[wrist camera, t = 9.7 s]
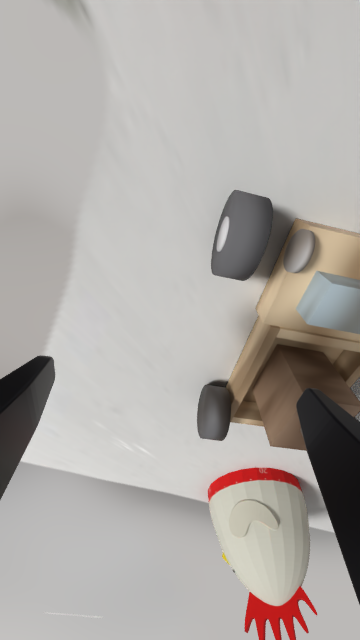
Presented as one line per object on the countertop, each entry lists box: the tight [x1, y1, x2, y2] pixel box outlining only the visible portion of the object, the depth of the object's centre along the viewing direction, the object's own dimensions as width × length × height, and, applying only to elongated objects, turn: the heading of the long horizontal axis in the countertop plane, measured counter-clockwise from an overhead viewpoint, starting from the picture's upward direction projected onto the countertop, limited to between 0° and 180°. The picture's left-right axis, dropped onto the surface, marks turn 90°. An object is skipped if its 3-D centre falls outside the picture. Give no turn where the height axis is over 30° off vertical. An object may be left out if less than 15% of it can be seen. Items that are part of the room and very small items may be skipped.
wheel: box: [211, 190, 273, 281], centre depth 15 cm, size 2×5×5 cm, turn 168°
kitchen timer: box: [208, 468, 317, 640], centre depth 32 cm, size 14×14×15 cm
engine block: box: [253, 344, 360, 451], centre depth 21 cm, size 4×6×7 cm
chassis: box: [197, 218, 360, 441], centre depth 20 cm, size 14×21×5 cm
